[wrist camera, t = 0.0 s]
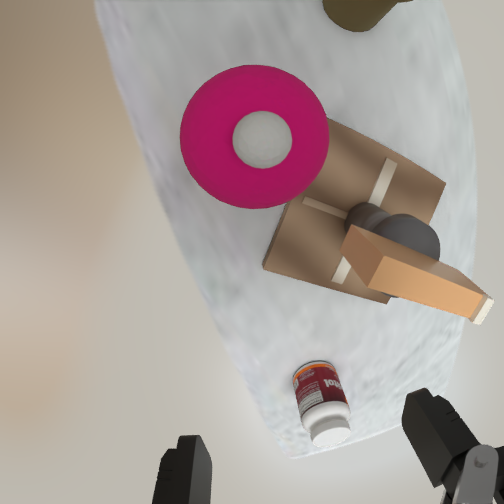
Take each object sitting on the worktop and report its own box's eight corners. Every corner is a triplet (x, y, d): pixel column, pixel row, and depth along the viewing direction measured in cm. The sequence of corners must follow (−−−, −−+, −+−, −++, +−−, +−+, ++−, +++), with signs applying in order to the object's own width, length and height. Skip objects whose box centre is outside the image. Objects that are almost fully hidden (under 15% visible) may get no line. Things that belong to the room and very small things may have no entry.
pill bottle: (342, 372, 40) (365, 433, 29) (307, 394, 41) (323, 454, 31) (320, 352, 37) (342, 418, 27) (283, 376, 39) (295, 442, 29)
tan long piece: (353, 187, 20) (406, 220, 13) (456, 239, 23) (510, 277, 16) (318, 265, 23) (351, 324, 16) (425, 298, 25) (467, 347, 18)
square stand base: (320, 116, 26) (352, 115, 18) (440, 180, 29) (485, 199, 22) (262, 264, 32) (271, 307, 24) (382, 299, 35) (411, 338, 27)
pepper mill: (235, 78, 24) (240, -21, 6) (297, 124, 26) (424, 132, 8) (187, 139, 26) (92, 176, 8) (250, 183, 28) (283, 301, 10)
